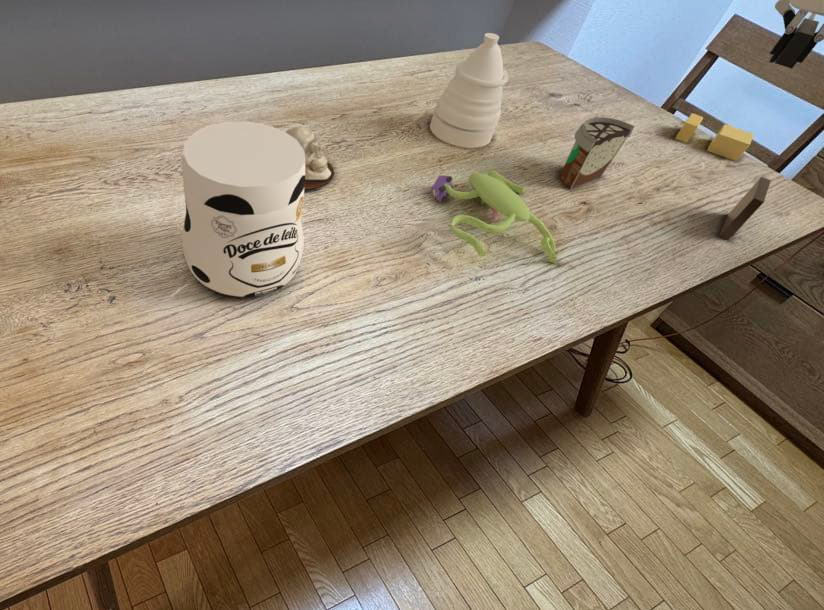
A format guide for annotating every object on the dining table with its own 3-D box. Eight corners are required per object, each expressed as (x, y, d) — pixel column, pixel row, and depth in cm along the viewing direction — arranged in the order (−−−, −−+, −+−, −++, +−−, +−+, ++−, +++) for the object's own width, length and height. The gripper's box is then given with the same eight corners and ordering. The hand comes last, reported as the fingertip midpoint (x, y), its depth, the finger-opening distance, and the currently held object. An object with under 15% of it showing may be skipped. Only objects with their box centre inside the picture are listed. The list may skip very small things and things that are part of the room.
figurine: (447, 272, 81) (460, 242, 76) (420, 176, 96) (429, 147, 92) (560, 278, 82) (579, 250, 77) (515, 183, 97) (529, 154, 93)
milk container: (267, 325, 71) (275, 210, 56) (161, 280, 75) (143, 161, 60) (318, 256, 81) (336, 142, 66) (222, 219, 84) (220, 103, 69)
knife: (788, 67, 84) (813, 35, 81) (774, 63, 85) (798, 31, 81) (801, 40, 93) (824, 10, 89) (787, 36, 93) (810, 6, 90)
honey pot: (479, 156, 102) (519, 54, 87) (419, 135, 105) (449, 33, 91) (498, 131, 109) (539, 32, 94) (442, 111, 112) (473, 13, 97)
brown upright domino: (735, 220, 96) (771, 180, 89) (726, 242, 91) (764, 202, 85) (726, 216, 96) (761, 176, 90) (717, 238, 92) (753, 198, 85)
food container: (579, 162, 104) (608, 110, 96) (604, 177, 101) (636, 125, 93) (539, 176, 100) (566, 123, 91) (564, 193, 97) (594, 140, 89)
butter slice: (690, 135, 115) (703, 117, 112) (684, 145, 112) (698, 126, 109) (679, 131, 116) (691, 112, 112) (672, 141, 113) (685, 122, 109)
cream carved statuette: (348, 162, 95) (339, 136, 85) (322, 214, 97) (309, 195, 87) (293, 138, 98) (278, 110, 88) (268, 189, 99) (251, 168, 90)
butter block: (739, 152, 112) (754, 134, 108) (734, 163, 109) (750, 144, 106) (710, 142, 114) (724, 123, 110) (705, 152, 111) (719, 133, 107)
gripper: (959, -74, 72) (835, 72, 87) (831, -100, 77) (735, 42, 92) (961, -65, 68) (831, 86, 83) (827, -93, 73) (727, 54, 88)
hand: (782, 62), depth 87 cm, fingers closed on knife, 2 cm apart
